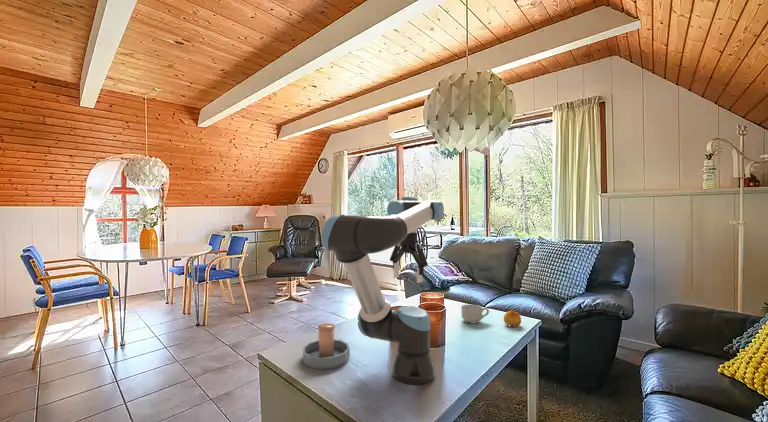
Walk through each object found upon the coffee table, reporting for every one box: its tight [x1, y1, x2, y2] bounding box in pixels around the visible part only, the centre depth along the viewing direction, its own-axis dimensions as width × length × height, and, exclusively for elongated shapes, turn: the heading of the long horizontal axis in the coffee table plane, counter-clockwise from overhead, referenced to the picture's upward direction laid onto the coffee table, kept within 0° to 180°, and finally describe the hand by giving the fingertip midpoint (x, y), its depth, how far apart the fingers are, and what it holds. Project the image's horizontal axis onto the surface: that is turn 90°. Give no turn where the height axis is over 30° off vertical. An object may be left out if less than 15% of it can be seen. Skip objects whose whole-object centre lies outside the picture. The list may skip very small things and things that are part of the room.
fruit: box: [503, 309, 522, 327], centre depth 176 cm, size 8×8×8 cm
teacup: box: [460, 304, 490, 323], centre depth 181 cm, size 14×11×8 cm
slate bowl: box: [302, 338, 351, 370], centre depth 138 cm, size 18×18×4 cm
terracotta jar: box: [317, 322, 336, 358], centre depth 138 cm, size 7×7×12 cm
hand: (407, 279), depth 153 cm, fingers open, 13 cm apart
